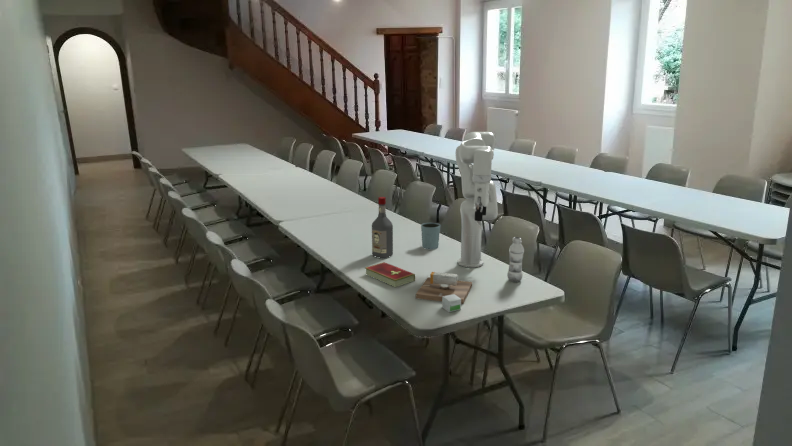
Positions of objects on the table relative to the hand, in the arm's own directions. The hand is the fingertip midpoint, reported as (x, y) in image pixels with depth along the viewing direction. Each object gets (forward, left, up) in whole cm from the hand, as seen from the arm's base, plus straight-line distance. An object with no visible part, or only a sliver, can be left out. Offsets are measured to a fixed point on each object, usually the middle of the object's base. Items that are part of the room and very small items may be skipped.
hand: (480, 217), depth 250 cm
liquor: (-25, -53, -31) cm, 66 cm away
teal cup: (-46, -33, -31) cm, 64 cm away
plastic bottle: (-9, +15, -31) cm, 35 cm away
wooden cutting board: (+13, -12, -30) cm, 35 cm away
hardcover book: (+4, -40, -31) cm, 50 cm away
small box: (+29, -6, -31) cm, 42 cm away
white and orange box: (+13, -12, -28) cm, 33 cm away
